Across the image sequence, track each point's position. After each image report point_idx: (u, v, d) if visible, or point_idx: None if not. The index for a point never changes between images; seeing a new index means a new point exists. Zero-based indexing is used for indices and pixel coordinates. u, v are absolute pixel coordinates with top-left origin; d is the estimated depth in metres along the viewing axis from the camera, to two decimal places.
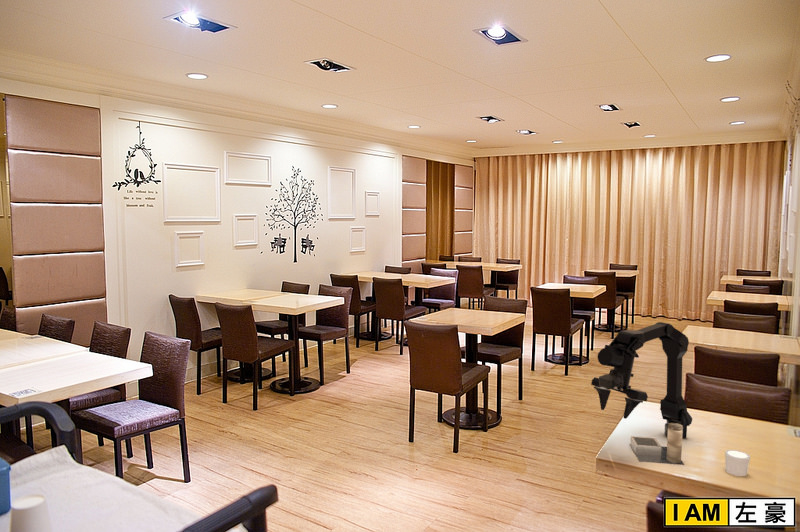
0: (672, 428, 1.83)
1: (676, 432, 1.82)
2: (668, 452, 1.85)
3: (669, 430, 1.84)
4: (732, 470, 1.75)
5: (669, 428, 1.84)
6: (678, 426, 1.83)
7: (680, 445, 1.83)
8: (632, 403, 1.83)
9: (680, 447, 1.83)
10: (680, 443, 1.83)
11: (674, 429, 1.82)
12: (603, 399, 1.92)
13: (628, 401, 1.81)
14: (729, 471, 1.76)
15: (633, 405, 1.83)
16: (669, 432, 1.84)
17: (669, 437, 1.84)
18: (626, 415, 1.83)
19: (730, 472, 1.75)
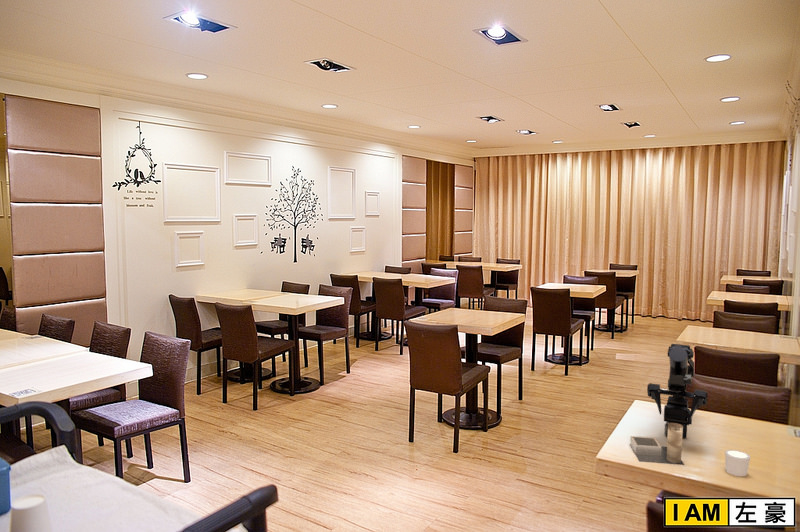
0: (672, 428, 1.83)
1: (676, 432, 1.82)
2: (668, 452, 1.85)
3: (669, 430, 1.84)
4: (732, 470, 1.75)
5: (669, 428, 1.84)
6: (678, 426, 1.83)
7: (680, 445, 1.83)
8: None
9: (680, 447, 1.83)
10: (680, 443, 1.83)
11: (674, 429, 1.82)
12: (660, 403, 1.95)
13: (696, 400, 1.89)
14: (729, 471, 1.76)
15: (695, 407, 1.91)
16: (669, 432, 1.84)
17: (669, 437, 1.84)
18: (692, 415, 1.89)
19: (730, 472, 1.75)
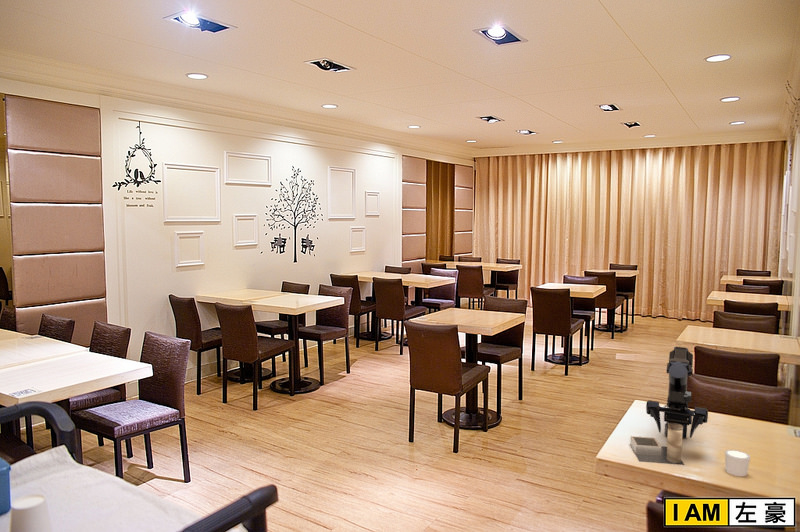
0: (672, 428, 1.83)
1: (676, 432, 1.82)
2: (668, 452, 1.85)
3: (669, 430, 1.84)
4: (732, 470, 1.75)
5: (669, 428, 1.84)
6: (678, 426, 1.83)
7: (680, 445, 1.83)
8: None
9: (680, 447, 1.83)
10: (680, 443, 1.83)
11: (674, 429, 1.82)
12: None
13: (697, 418, 1.85)
14: (729, 471, 1.76)
15: (695, 425, 1.86)
16: (669, 432, 1.84)
17: (669, 437, 1.84)
18: (692, 433, 1.84)
19: (730, 472, 1.75)
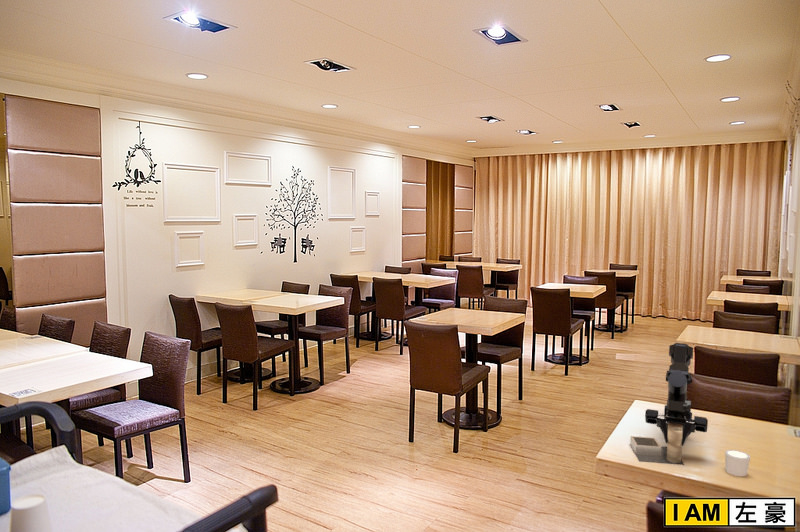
0: (672, 428, 1.83)
1: (676, 432, 1.82)
2: (668, 452, 1.85)
3: (669, 430, 1.84)
4: (732, 470, 1.75)
5: (669, 428, 1.84)
6: (678, 426, 1.83)
7: (680, 445, 1.83)
8: None
9: (680, 447, 1.83)
10: (680, 443, 1.83)
11: (674, 429, 1.82)
12: (666, 432, 1.86)
13: (688, 426, 1.83)
14: (729, 471, 1.76)
15: (687, 433, 1.85)
16: (669, 432, 1.84)
17: (669, 437, 1.84)
18: (684, 442, 1.83)
19: (730, 472, 1.75)
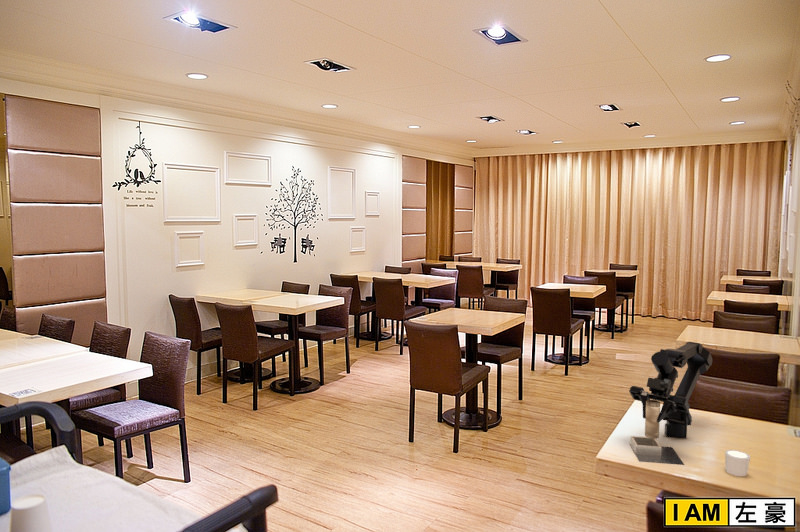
0: (648, 404, 1.89)
1: (651, 408, 1.88)
2: (645, 427, 1.91)
3: (646, 406, 1.90)
4: (732, 470, 1.75)
5: (646, 404, 1.90)
6: (654, 403, 1.88)
7: (656, 421, 1.88)
8: (667, 409, 1.89)
9: (656, 423, 1.88)
10: (656, 419, 1.88)
11: (649, 405, 1.88)
12: None
13: (666, 404, 1.88)
14: (729, 471, 1.76)
15: (667, 411, 1.89)
16: (646, 408, 1.90)
17: (646, 413, 1.90)
18: (660, 418, 1.87)
19: (730, 472, 1.75)
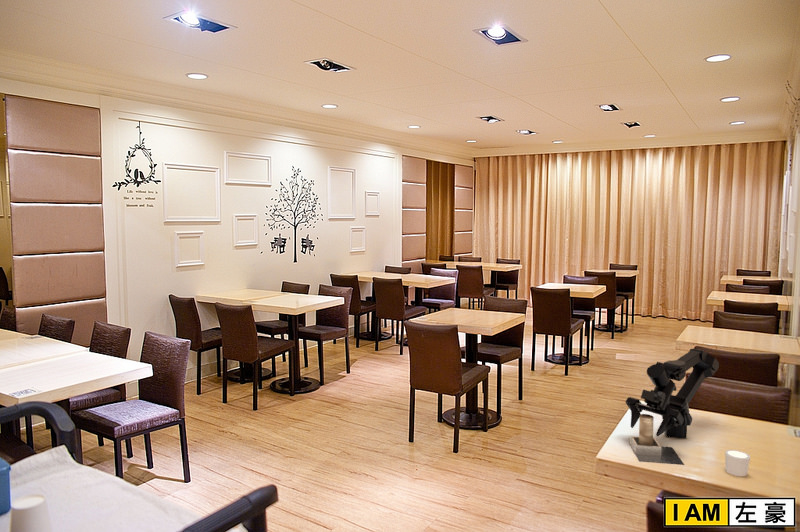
0: (641, 418, 1.92)
1: (644, 422, 1.91)
2: (639, 441, 1.94)
3: (639, 420, 1.93)
4: (732, 470, 1.75)
5: None
6: (647, 417, 1.91)
7: (649, 435, 1.91)
8: (667, 423, 1.89)
9: (649, 437, 1.91)
10: (649, 433, 1.91)
11: (642, 419, 1.91)
12: (635, 417, 1.97)
13: (666, 418, 1.88)
14: (729, 471, 1.76)
15: (667, 426, 1.89)
16: (639, 422, 1.93)
17: (639, 426, 1.93)
18: (659, 432, 1.88)
19: (730, 472, 1.75)
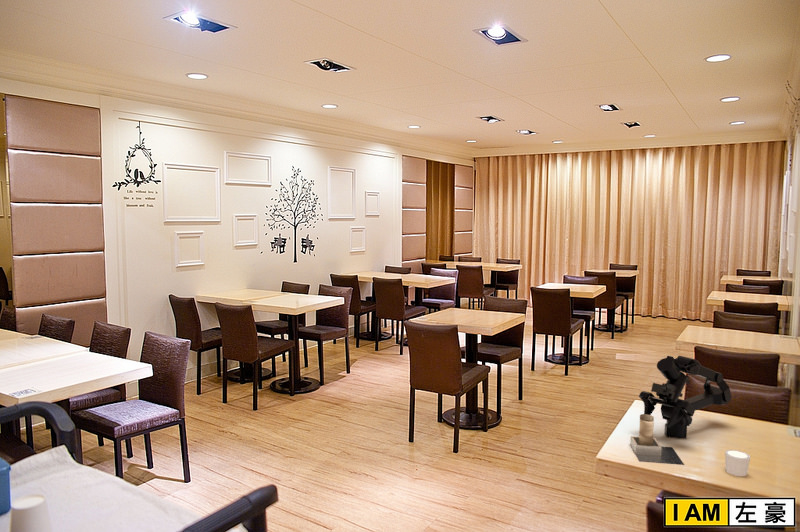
0: (641, 418, 1.92)
1: (644, 422, 1.91)
2: (639, 441, 1.93)
3: (640, 420, 1.93)
4: (732, 470, 1.75)
5: (640, 418, 1.93)
6: (647, 417, 1.91)
7: (649, 436, 1.91)
8: (678, 414, 1.95)
9: (649, 437, 1.91)
10: (649, 434, 1.91)
11: (642, 419, 1.91)
12: (648, 410, 2.03)
13: (676, 410, 1.93)
14: (729, 471, 1.76)
15: (678, 417, 1.95)
16: (640, 422, 1.93)
17: (639, 427, 1.93)
18: (670, 424, 1.94)
19: (730, 472, 1.75)
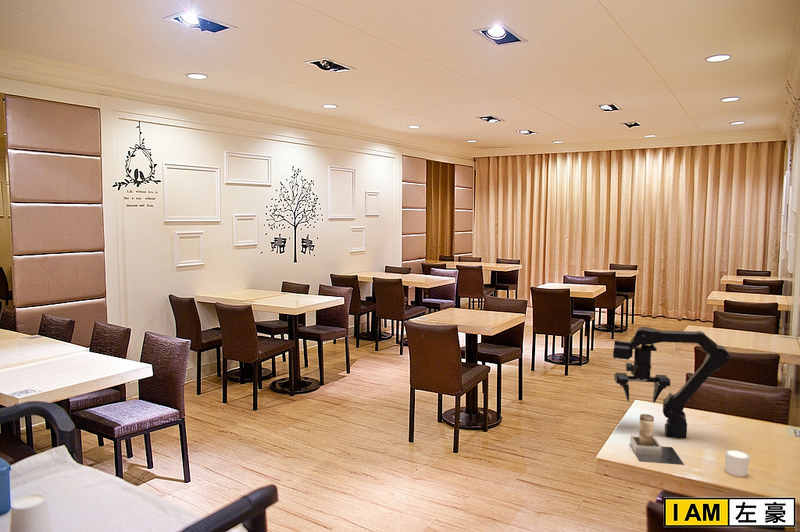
0: (641, 418, 1.92)
1: (644, 422, 1.91)
2: (639, 441, 1.93)
3: (640, 420, 1.93)
4: (732, 470, 1.75)
5: (640, 418, 1.93)
6: (647, 417, 1.91)
7: (649, 436, 1.91)
8: None
9: (649, 437, 1.91)
10: (649, 434, 1.91)
11: (642, 419, 1.91)
12: (654, 392, 2.09)
13: None
14: (729, 471, 1.76)
15: None
16: (640, 422, 1.93)
17: (639, 427, 1.93)
18: (626, 397, 2.11)
19: (730, 472, 1.75)
